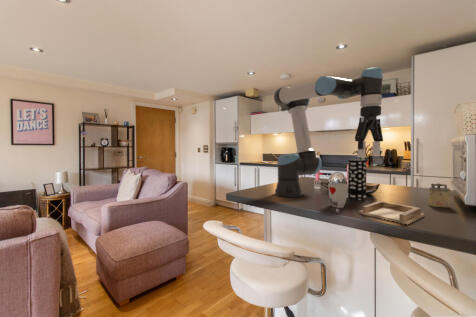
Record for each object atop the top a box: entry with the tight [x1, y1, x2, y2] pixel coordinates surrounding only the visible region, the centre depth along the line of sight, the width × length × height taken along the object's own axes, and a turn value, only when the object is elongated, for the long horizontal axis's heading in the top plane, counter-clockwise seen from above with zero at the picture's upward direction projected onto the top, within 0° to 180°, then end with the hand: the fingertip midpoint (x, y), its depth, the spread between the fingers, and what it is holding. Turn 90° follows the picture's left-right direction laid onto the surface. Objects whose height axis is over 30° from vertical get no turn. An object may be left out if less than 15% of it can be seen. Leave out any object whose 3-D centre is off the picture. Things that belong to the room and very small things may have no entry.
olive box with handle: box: [428, 182, 451, 208], centre depth 93 cm, size 7×4×10 cm, turn 66°
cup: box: [327, 182, 348, 209], centre depth 96 cm, size 8×8×10 cm
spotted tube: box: [347, 159, 368, 201], centre depth 110 cm, size 8×8×20 cm
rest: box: [358, 200, 425, 226], centre depth 83 cm, size 16×16×3 cm
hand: (368, 156), depth 91 cm, fingers open, 13 cm apart
